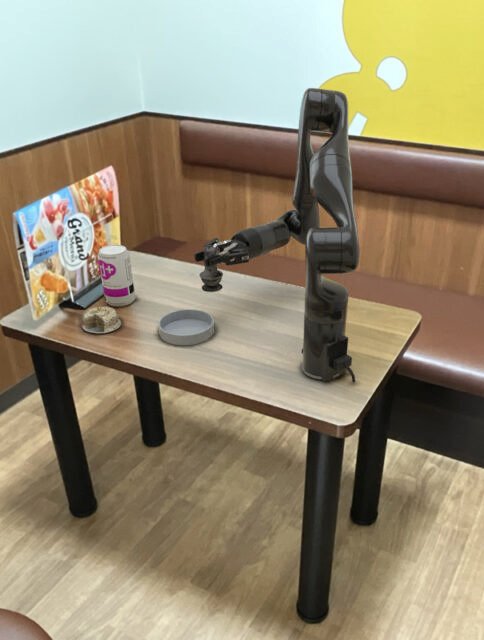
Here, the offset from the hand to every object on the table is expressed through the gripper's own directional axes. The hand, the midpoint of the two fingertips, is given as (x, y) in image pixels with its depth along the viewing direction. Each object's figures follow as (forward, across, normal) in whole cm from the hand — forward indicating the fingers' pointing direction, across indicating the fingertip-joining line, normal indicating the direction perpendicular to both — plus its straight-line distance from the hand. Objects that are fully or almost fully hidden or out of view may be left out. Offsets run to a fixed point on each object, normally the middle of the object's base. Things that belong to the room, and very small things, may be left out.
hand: (200, 260), depth 147 cm
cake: (+20, -17, +18) cm, 32 cm away
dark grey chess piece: (-3, 0, +8) cm, 9 cm away
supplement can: (+10, -26, +18) cm, 33 cm away
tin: (+6, 0, +18) cm, 19 cm away
